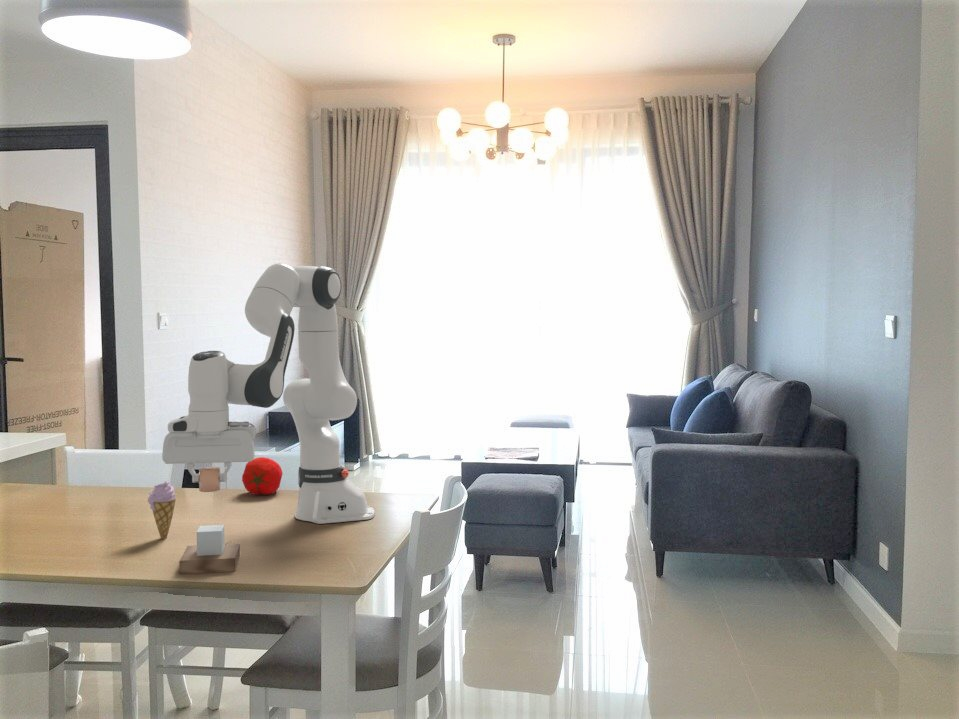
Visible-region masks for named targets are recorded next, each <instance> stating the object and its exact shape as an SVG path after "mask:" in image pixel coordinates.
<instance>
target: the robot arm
mask: <svg viewBox="0 0 959 719" xmlns="http://www.w3.org/2000/svg"><path fill="white" fill-rule="evenodd" d="M341 294H342V281H341V278H340V275H339V274H338V273H337V271H336V270H335V269H334V268H331V267H328V266H323V265H321V266H313V265H298V266H290V265H288V264H285V263H273V264H271V265H269V266H268V267H267V268H266V269H265V271H263V273H262V275H261V276H260V277H259V279H258V280H257V281H256V282H255V284H254V286H253V288H252V289H251V292H250V294H249V296H248V297H247V299H246V302H245V306H244V314H245V318H246V320H247V322H248V324H249V325H250V326H251V327H252V328H254V330H255V331H257V332H258V333H260V334H261V335H264V336H266V337H268V338H270V340H269V343H268V346H267V350H266V355H265V358H264V360H263V361H262V362H260V363H257V364H240V363H235V362H233V361H231V360H229V359H228V358H227V357H226V354H225V352H223V351H220V350H207V351H206V350H205V351H200V352H197V353H195V354H194V355H193V356H192V357H191V359H190V361H189V366H188V376H187V386H188V387H187V392H188V394H189V405H188V414H187V415H183V416H180V417H178V418H174V419H173V420H171V421H169V422H168V423H167V431H168V433H167V434H166V435H165V437H164V440H163V444H162V453H161V455H162V456H161V458H162V461H163V462H164V464H167V465H173V464H174V465H177V464H186V469H187V470H188V472H189V474H190V475H191V482H192V483H193V484H194V483H199V473H196V470H195V469H194V468H195V464H210V463H212V464H213V463H215V464H216V463H217V464H218V463H224V464H223V466H224V467H225V468H226V469H225V470H224V472H220V474H219V477H220V479H219V481H220V483H221V482H222V483H224V482H226V483H227V480H228V479H227V478H228V477H227V476H228V475H227V474H228V472H229V471H230V469H231V467H232V466H233V465H232V463H248V462H251V461H252V460H253V459H255V455H256V453H255V443H254V440H255V438H256V436H257V430H256V429H257V428H256V427H255V425H254V423H251V422H249V421H230V412H229V411H230V409H229V408H230V406H229V404H230V405H237V406H238V405H240V406H252V407H257V408H264V409H266V408H270V407H273V406H274V405H275V404H276V403H277V402H278V401H279V400H280V399H281V397H282V400H283V404H284V406H285V408H286V409H287V410H288V411H289V413H290V414H291V416H292V419H293V422H294V425H295V428H296V432H297V434H298V435H297V436H298V440H299V441H298V443H299V462H300V463H299V467H298V471H297V472H298V474H297V477H298V478H297V480H298V481H297V482H298V487H299V492H298V499H297V500H298V501H297V505H296V510H295V513H294V517H295V519H297V520H300V521H304V522H311V523H314V524H317V525H321V524H331V523H333V524H335V523H342V522H343V523H344V522H354V521H355V522H356V521H363V520H370V519H373V518H374V517H375V508H373V507H372V506H370V505H368V503H367V497H366V494H365V493H364V490H362V489H361V488H360V487H358V486H357V485H355V483H353V482H352V481H350V480H349V479H347V478H348V477H349V473H350V472H349V470H347V468H346V467H345V466H342V465H341V464H340V460H341V459H340V439H339V437H338V435H337V434H336V432H334V429H333V428H332V426H331V423H330V421H340V420H344V419H349V418H350V417H351V416H352V415H353V414H354V412H355V410H356V408H357V405H358V397H357V394H356V392H355V390H354V389H353V387H352V386H351V385H350V384H349V382H348V381H347V379H346V376H345V374H344V371H343V368H342V364H341V363H342V362H341V360H340V350H339V322H338V313H337V307H336V303H337V301H338V300H339V298H340V295H341ZM293 308H299V310H298V311H299V312H298V324H297V328H298V330H297V335H298V336H297V338H298V341H297V342H298V358H299V361H300V362H301V364H302V365H303V366H304V367H305V369H306V371H307V374H308V377H309V378H307V377H305V378H299V379H296V380H293V381H291V382H289V383H288V384H287V385H286V387H285V375H286V370H287V367H288V364H289V363H288V362H289V359H290V354H291V350H292V347H293V342H294V337H295V330H296V328H295V322H294V320H293V317H292V316H291V313H292V310H293ZM284 387H285V388H284Z"/></svg>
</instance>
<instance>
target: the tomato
mask: <svg viewBox="0 0 959 719" xmlns="http://www.w3.org/2000/svg"><path fill="white" fill-rule="evenodd" d="M282 477H283V470H282V467H281V466H280V464H279V463H278V462H276V461H275V460H274V459H271V458H269V457H265V456H264V457H263V456H262V457H256V458H255V457H254V459H253V460H252V461H251V462H246V464H245V467H244V470H243V474H242V475H241V481H242V483H243V486H244V489H245V490H246V491H247V492H248V493H250V494H252V495H255V496H256V495H266V496H269V495H272V494H274V493H276V492H277V491H278V489H279V488H280V486H281V481H282Z"/></svg>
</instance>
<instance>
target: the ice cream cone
mask: <svg viewBox="0 0 959 719" xmlns="http://www.w3.org/2000/svg"><path fill="white" fill-rule="evenodd" d="M148 495H149V496H148V498H147V502H148V504H149V505H150V507H149V508H150V509H151V510H152V514H153V518H154V521H155V524H156V527H157V530H158V534H159V536H160V539H162V540H165V539H168V534H169V531H170V528H171V525H172V524H171V523H172V519H173V516H174V511H175V507H176V500H177V499H176V493H175V487H174V486H173V485H172V484H171V482H168V481H167V480H166V481H164V482H163V483H158V484H155V485H154V488H153V490H152V491H149V492H148Z"/></svg>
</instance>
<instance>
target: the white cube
mask: <svg viewBox="0 0 959 719" xmlns="http://www.w3.org/2000/svg"><path fill="white" fill-rule="evenodd" d="M225 544H226V543H225V524H218V525H217V524H215V525H199V526H198V529H197V531H196V545H197V556H203V555H222V553H223V551H224V548H225Z"/></svg>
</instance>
